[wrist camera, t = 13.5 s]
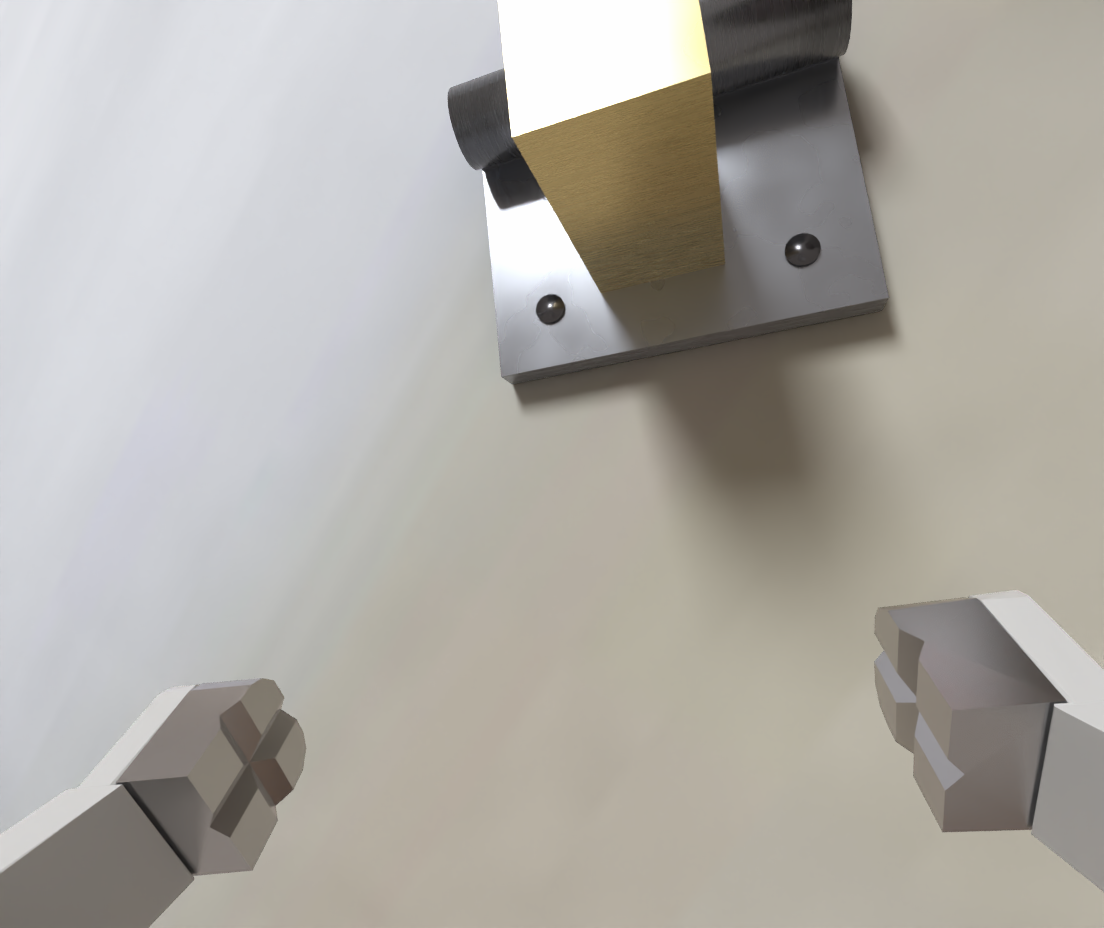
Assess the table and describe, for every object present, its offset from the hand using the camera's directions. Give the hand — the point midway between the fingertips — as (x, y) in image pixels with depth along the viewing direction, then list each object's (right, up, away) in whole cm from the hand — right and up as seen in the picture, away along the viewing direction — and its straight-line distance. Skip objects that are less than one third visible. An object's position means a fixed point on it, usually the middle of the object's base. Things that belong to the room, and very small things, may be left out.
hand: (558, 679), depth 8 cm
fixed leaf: (+4, +12, +13) cm, 17 cm away
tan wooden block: (+3, +11, +12) cm, 16 cm away
